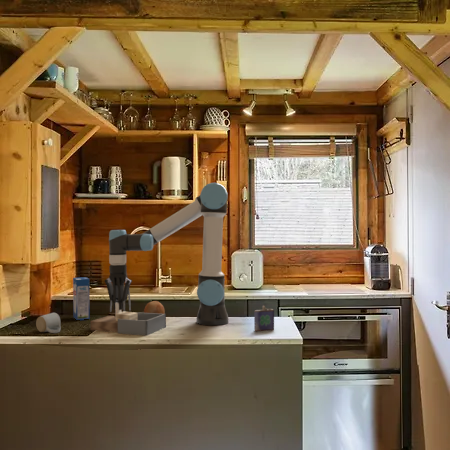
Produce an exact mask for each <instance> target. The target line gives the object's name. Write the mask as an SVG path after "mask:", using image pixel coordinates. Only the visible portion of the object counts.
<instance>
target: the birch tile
mask: <svg viewBox="0 0 450 450" xmlns="http://www.w3.org/2000/svg"><path fill="white" fill-rule="evenodd" d="M115 316H116V321H118V319H129V320H137V319H138V312H134V311H133V312H132V311H126V310H125V311H124V310H123V311H122V312H121V313H117V314H116V315H115Z"/></svg>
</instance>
